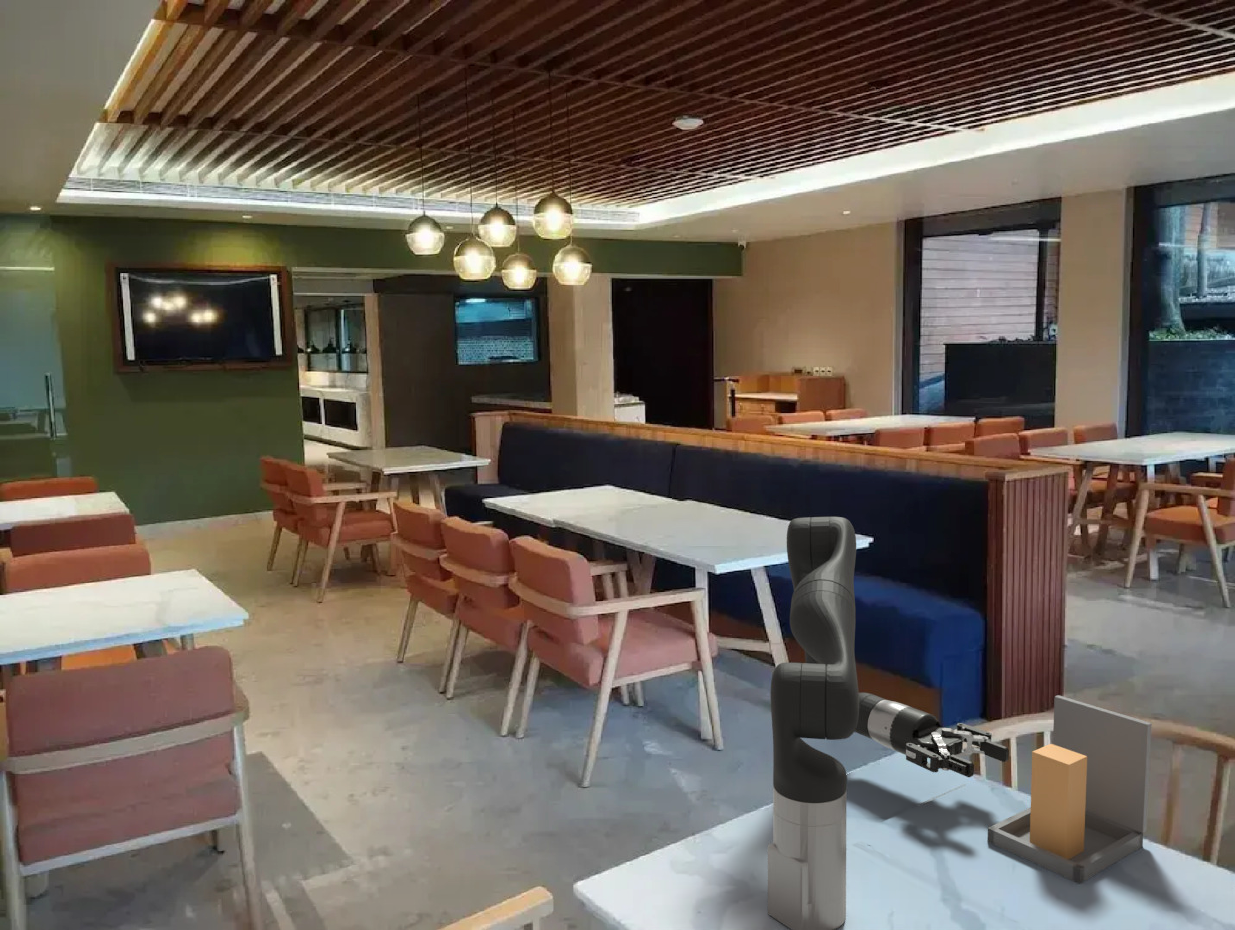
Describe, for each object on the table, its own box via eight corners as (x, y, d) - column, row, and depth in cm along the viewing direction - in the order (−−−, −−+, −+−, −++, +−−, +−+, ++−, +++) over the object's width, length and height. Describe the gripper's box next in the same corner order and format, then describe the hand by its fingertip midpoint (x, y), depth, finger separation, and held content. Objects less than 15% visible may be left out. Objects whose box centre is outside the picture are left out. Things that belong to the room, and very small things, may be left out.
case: (1079, 890, 132) (1084, 754, 129) (987, 847, 143) (990, 721, 141) (1145, 850, 141) (1151, 723, 139) (1054, 813, 153) (1058, 695, 150)
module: (1065, 861, 137) (1069, 764, 135) (1029, 845, 142) (1032, 751, 140) (1083, 850, 140) (1087, 756, 138) (1047, 835, 144) (1050, 743, 142)
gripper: (874, 717, 157) (961, 751, 144) (931, 696, 165) (1019, 727, 152) (873, 762, 159) (960, 800, 145) (930, 739, 167) (1017, 773, 153)
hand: (990, 762), depth 149 cm, fingers open, 8 cm apart
